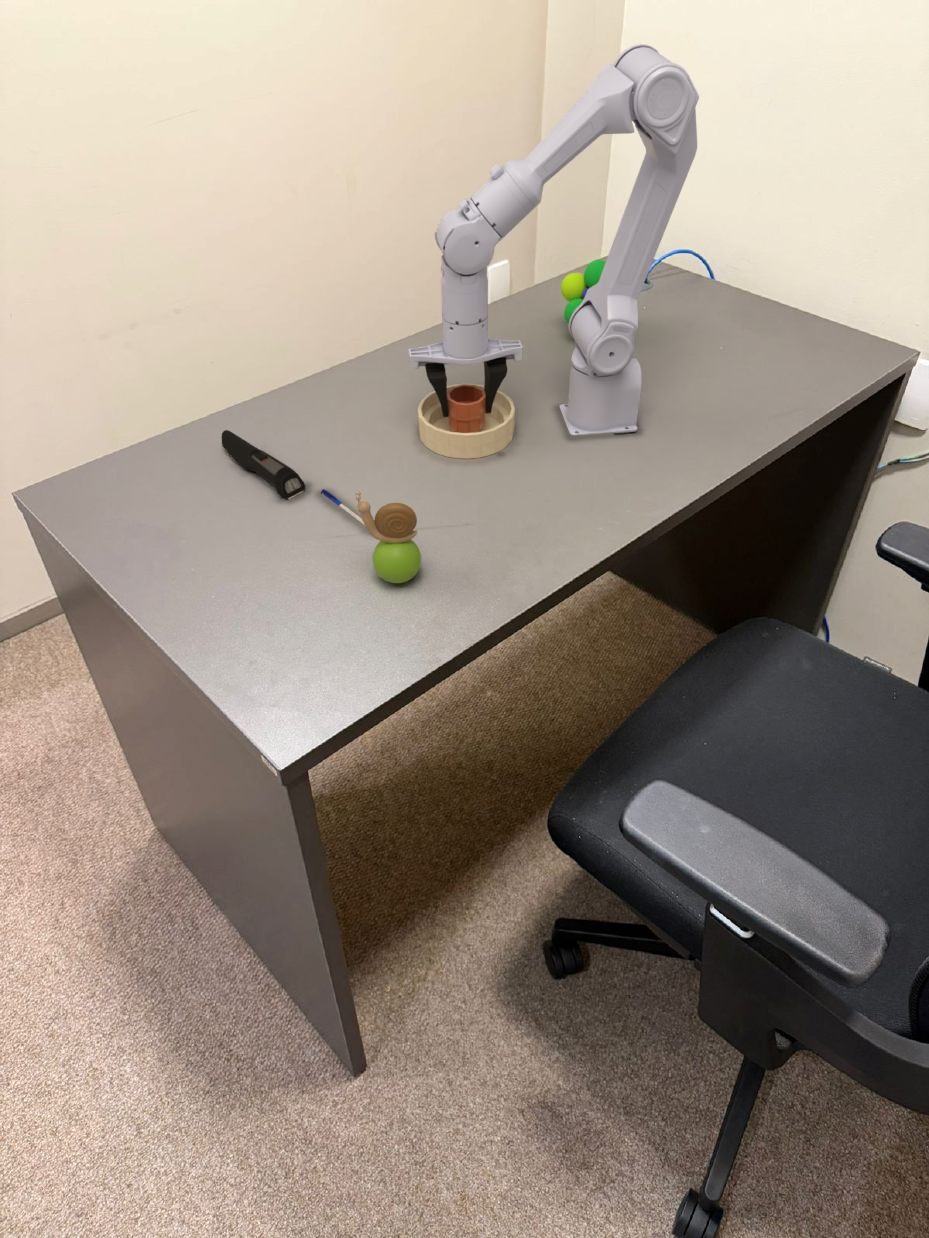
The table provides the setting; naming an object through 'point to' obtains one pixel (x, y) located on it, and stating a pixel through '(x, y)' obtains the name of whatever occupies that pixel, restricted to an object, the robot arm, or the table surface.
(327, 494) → the ballpoint pen
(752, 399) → the table surface
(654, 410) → the table surface
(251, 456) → the electric trimmer
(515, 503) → the table surface
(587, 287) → the molecule model
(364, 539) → the table surface
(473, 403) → the terracotta pot
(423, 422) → the cream bowl
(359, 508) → the snail figurine
